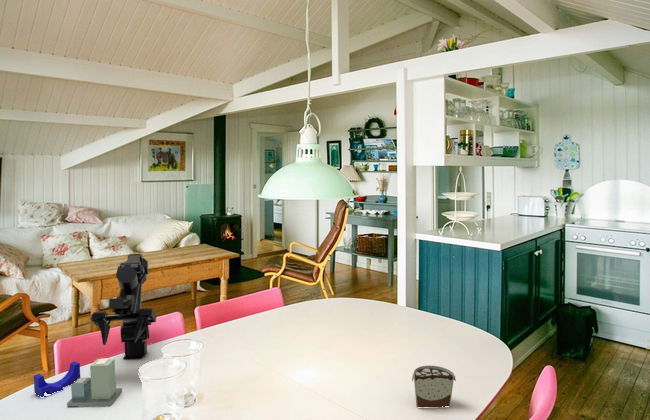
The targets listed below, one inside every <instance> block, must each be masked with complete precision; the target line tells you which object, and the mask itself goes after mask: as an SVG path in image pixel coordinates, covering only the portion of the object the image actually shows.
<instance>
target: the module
mask: <svg viewBox="0 0 650 420" xmlns="http://www.w3.org/2000/svg"><path fill="white" fill-rule="evenodd" d="M115 362H116V359H115V358H105V357H104V358H97V359H96V360H94V362H92V363H91V364H90V366H89V371H90V373H89V374H90V378H91V395H92V399H110V398H111V396H112V395H113V394H114V393H115V392H116V388H117V382H116V381H117V379H116V363H115Z"/></svg>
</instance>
